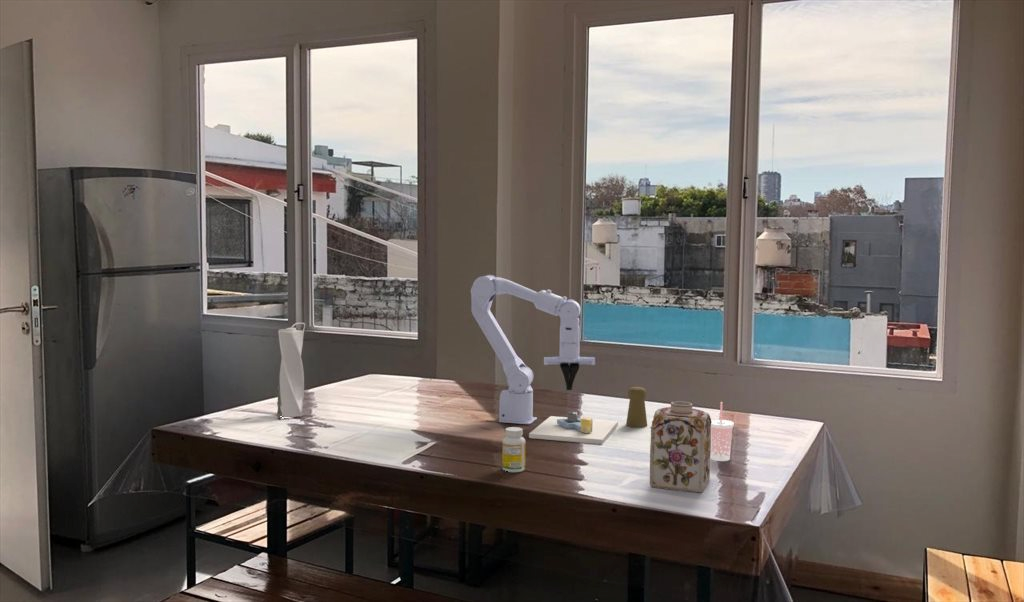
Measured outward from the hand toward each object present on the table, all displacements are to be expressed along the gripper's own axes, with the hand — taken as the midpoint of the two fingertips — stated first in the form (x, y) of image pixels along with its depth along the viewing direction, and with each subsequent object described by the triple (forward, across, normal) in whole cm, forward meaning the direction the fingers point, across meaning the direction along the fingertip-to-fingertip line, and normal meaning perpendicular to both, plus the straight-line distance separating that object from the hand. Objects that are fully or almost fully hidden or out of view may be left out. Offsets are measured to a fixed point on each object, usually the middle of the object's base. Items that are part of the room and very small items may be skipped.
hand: (569, 389), depth 237 cm
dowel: (+10, +4, -13) cm, 17 cm away
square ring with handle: (+8, +1, -11) cm, 14 cm away
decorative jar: (+10, +19, -56) cm, 61 cm away
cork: (+10, +19, -2) cm, 22 cm away
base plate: (+10, +1, -10) cm, 14 cm away
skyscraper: (+10, -81, +10) cm, 83 cm away
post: (+10, 0, -8) cm, 13 cm away
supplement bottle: (+10, -17, -46) cm, 50 cm away
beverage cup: (+10, +33, -37) cm, 51 cm away
